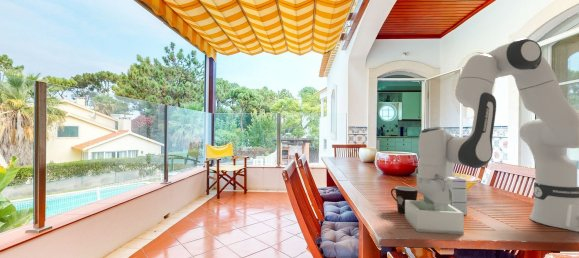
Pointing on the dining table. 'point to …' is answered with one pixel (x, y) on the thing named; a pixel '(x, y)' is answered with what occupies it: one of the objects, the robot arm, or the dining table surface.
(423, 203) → the small crate
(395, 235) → the dining table surface
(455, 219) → the box
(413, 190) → the coffee mug
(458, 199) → the syrup box
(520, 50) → the robot arm
